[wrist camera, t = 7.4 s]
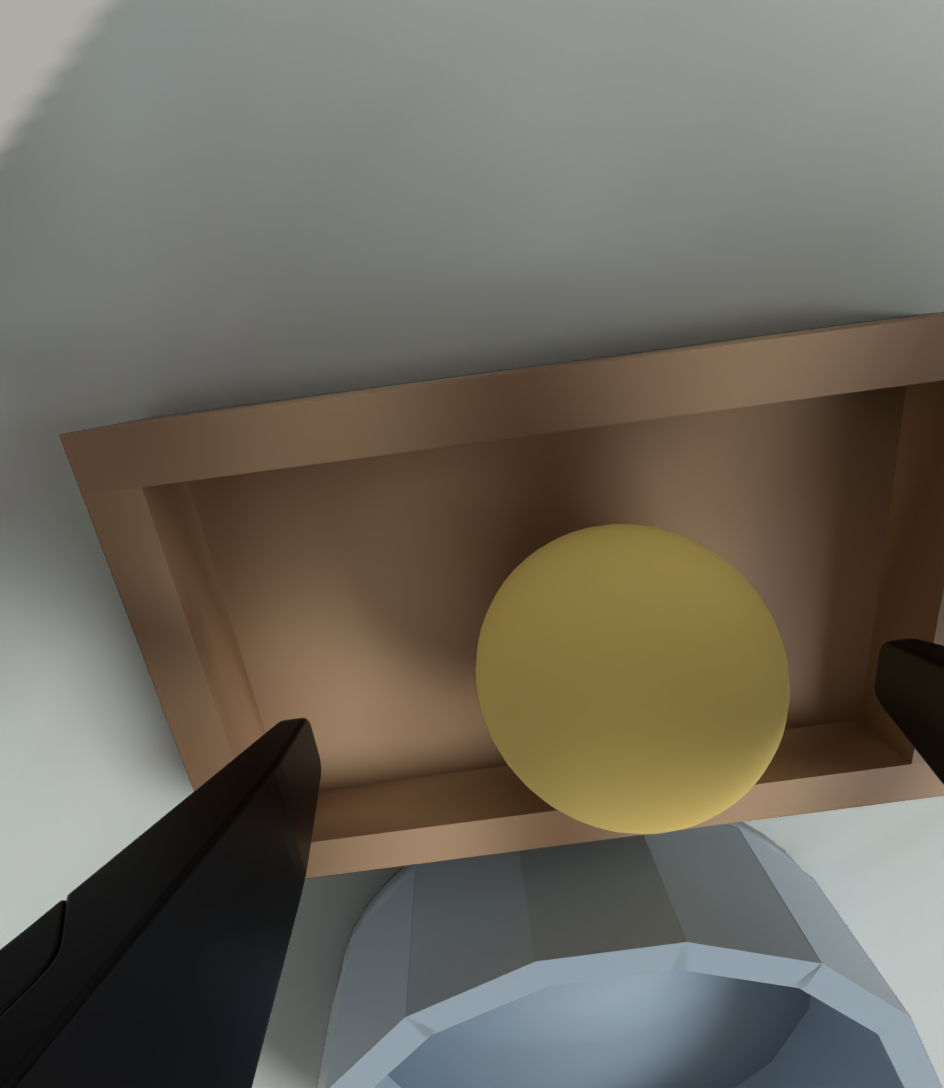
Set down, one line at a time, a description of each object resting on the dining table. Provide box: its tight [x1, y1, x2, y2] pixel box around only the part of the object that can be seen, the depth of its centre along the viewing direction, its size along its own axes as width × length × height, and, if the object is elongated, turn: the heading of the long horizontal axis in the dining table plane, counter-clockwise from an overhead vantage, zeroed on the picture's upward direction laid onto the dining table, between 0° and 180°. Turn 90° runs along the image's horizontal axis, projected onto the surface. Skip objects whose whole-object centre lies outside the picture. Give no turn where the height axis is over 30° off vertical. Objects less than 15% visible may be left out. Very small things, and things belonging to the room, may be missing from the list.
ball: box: [476, 524, 790, 834], centre depth 9 cm, size 5×5×5 cm
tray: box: [59, 312, 944, 878], centre depth 11 cm, size 16×10×2 cm, turn 97°
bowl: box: [317, 822, 943, 1088], centre depth 15 cm, size 16×16×4 cm
